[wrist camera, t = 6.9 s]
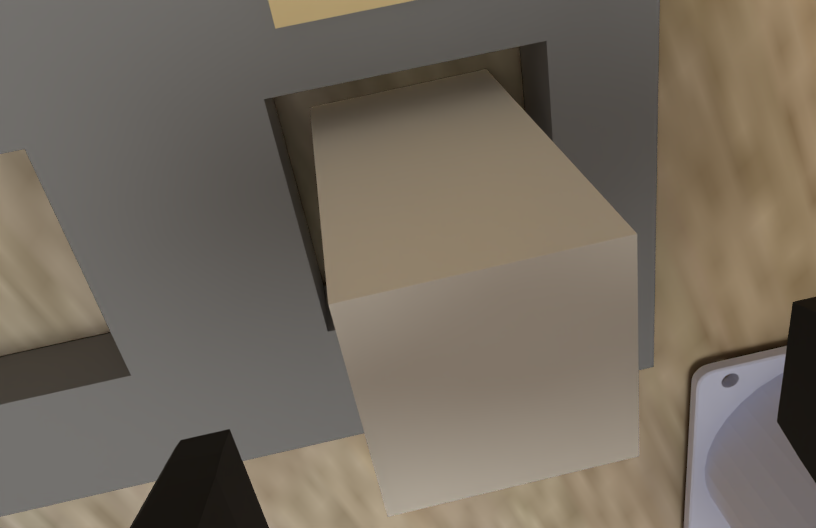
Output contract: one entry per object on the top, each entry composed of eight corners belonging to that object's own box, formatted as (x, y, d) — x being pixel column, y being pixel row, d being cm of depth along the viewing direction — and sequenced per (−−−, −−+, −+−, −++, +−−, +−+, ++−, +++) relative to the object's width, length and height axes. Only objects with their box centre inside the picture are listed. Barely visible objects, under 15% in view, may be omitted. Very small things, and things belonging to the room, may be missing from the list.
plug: (485, 68, 16) (636, 234, 9) (504, 225, 18) (639, 455, 11) (309, 107, 16) (328, 304, 9) (348, 261, 18) (387, 516, 11)
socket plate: (614, -304, 13) (671, -330, 11) (622, 322, 20) (657, 371, 18) (-539, -88, 12) (-692, -77, 10) (-101, 486, 19) (-142, 555, 17)
